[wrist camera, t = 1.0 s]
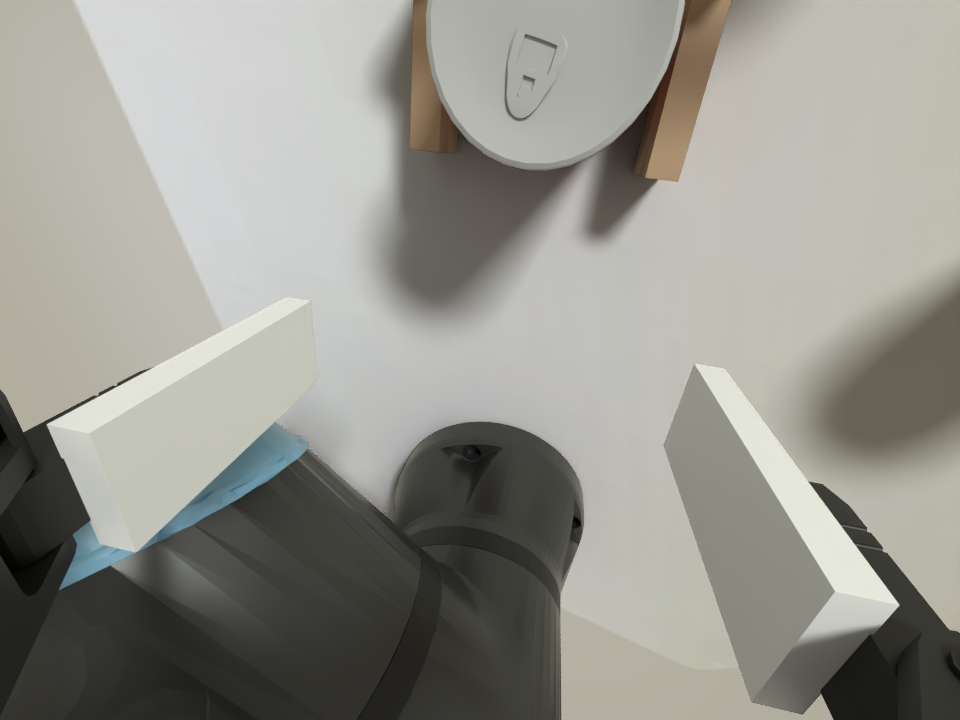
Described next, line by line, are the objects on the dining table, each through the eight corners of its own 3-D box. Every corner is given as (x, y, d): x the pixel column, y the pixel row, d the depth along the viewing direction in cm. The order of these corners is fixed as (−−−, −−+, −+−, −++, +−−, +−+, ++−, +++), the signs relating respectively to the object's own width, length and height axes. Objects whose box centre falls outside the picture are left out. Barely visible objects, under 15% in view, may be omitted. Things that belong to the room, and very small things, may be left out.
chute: (660, 177, 23) (689, 184, 18) (431, 149, 25) (395, 149, 19) (719, -38, 19) (779, -110, 14) (441, -57, 21) (399, -129, 15)
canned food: (478, 160, 25) (424, 166, 15) (486, -19, 21) (420, -165, 11) (614, 167, 24) (652, 178, 14) (646, -20, 20) (727, -181, 10)
